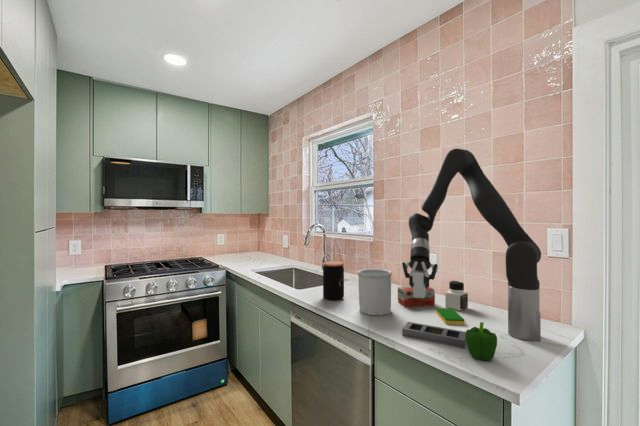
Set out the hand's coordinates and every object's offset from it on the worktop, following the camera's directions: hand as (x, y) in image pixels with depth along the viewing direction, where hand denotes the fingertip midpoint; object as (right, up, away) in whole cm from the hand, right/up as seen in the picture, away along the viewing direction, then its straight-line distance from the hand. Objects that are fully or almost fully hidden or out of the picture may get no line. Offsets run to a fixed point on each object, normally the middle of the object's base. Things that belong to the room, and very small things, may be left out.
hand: (419, 286), depth 115 cm
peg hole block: (+2, -15, -9) cm, 18 cm away
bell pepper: (+11, -16, -24) cm, 31 cm away
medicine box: (+8, -16, +29) cm, 34 cm away
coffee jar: (-31, -16, +39) cm, 52 cm away
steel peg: (+1, -4, +2) cm, 5 cm away
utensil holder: (-13, -16, +19) cm, 28 cm away
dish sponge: (+16, -16, +9) cm, 24 cm away
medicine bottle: (+24, -15, +23) cm, 37 cm away
